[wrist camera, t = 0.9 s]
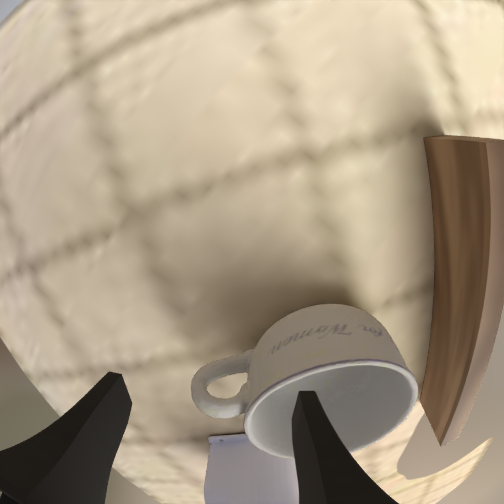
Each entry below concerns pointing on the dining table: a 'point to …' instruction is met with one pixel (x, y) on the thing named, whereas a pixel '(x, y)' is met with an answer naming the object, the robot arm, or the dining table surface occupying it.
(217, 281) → the dining table surface
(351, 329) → the teacup
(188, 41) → the dining table surface
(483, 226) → the wall board
